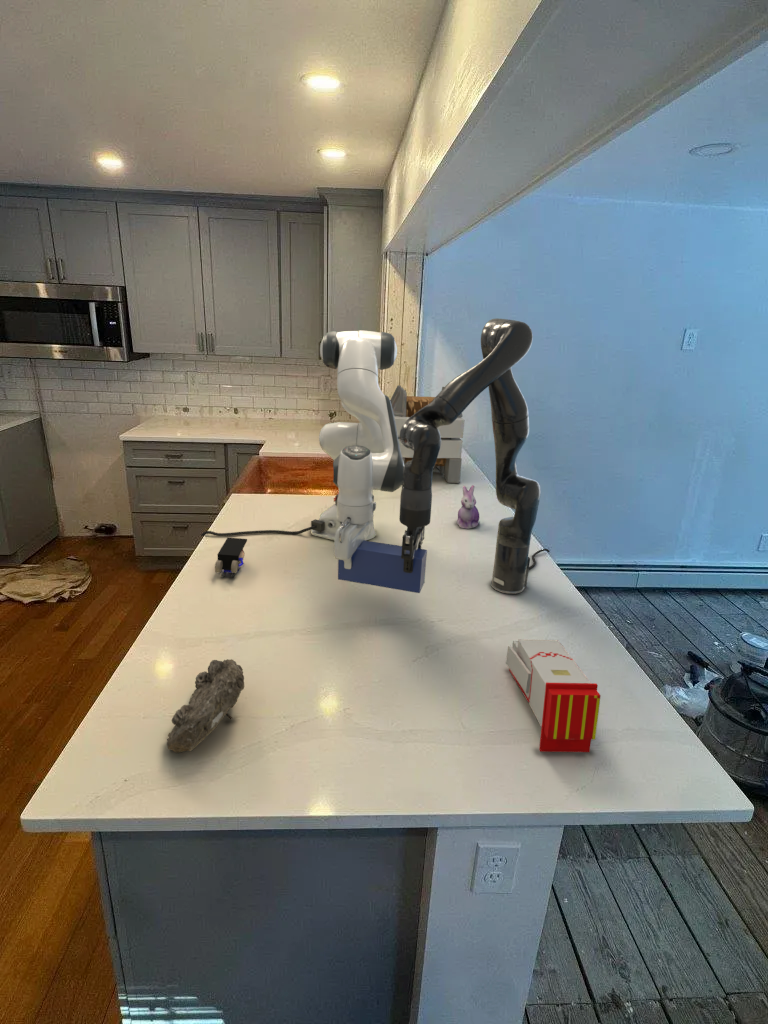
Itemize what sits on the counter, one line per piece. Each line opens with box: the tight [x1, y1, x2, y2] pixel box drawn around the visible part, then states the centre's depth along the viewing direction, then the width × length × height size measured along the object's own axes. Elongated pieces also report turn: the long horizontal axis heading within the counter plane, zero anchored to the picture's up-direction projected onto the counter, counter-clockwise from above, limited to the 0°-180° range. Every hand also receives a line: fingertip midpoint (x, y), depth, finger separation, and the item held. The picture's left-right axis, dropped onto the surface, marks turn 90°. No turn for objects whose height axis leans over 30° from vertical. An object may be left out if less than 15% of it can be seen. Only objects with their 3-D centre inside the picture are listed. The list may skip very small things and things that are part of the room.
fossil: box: [166, 658, 245, 754], centre depth 106 cm, size 22×10×15 cm
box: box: [337, 540, 428, 594], centre depth 144 cm, size 22×6×9 cm, turn 74°
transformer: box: [390, 384, 465, 484], centre depth 268 cm, size 34×33×41 cm
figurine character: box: [214, 537, 248, 578], centre depth 166 cm, size 7×8×15 cm
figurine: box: [456, 484, 480, 530], centre depth 209 cm, size 9×10×15 cm
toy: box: [505, 638, 602, 753], centre depth 114 cm, size 12×13×30 cm
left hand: (353, 561), depth 146 cm, fingers closed on box, 6 cm apart
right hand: (412, 565), depth 142 cm, fingers open, 8 cm apart
